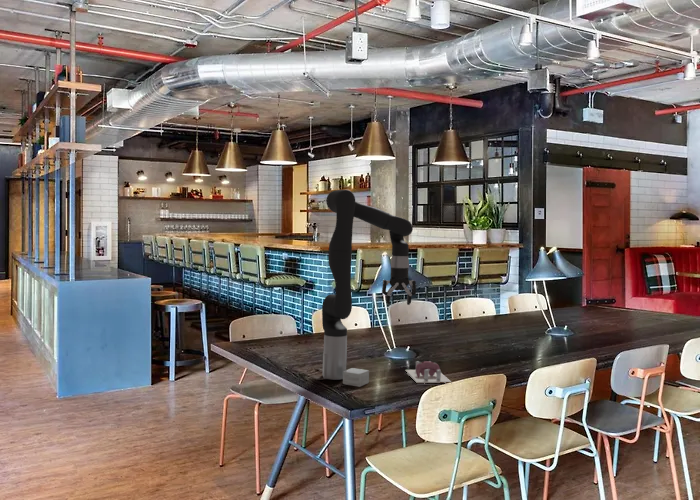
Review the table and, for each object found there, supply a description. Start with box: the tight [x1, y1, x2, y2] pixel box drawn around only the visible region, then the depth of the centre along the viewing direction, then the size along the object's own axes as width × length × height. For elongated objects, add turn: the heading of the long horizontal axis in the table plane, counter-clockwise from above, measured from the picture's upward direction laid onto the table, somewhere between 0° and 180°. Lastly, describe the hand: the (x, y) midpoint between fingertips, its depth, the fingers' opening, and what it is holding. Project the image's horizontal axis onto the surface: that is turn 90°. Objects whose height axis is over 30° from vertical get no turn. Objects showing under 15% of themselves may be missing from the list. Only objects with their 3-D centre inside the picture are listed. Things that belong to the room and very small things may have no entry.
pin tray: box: [405, 360, 452, 385], centre depth 258 cm, size 14×20×5 cm
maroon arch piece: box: [415, 360, 441, 377], centre depth 257 cm, size 10×5×7 cm, turn 92°
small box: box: [342, 367, 370, 388], centre depth 246 cm, size 8×8×5 cm
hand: (398, 304), depth 269 cm, fingers open, 8 cm apart
